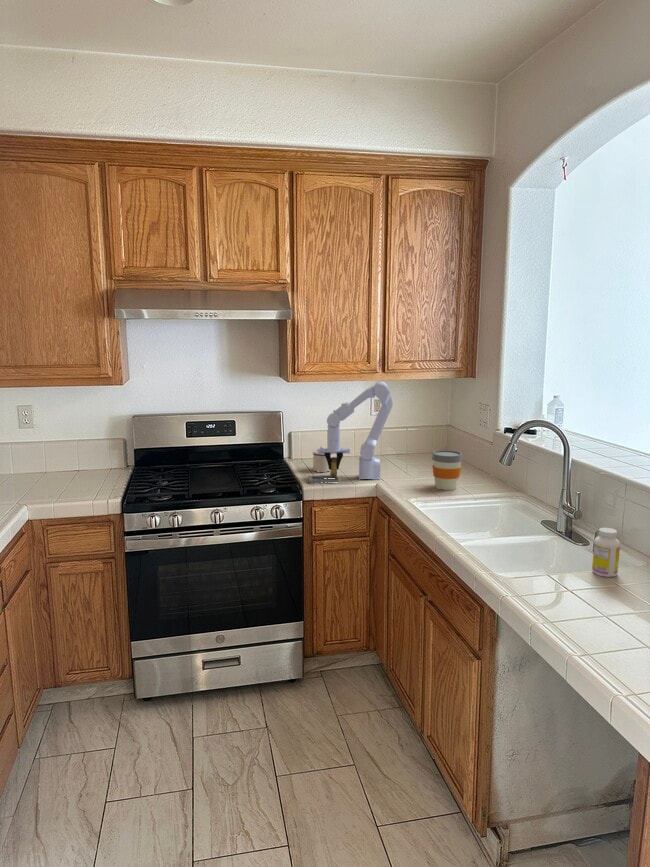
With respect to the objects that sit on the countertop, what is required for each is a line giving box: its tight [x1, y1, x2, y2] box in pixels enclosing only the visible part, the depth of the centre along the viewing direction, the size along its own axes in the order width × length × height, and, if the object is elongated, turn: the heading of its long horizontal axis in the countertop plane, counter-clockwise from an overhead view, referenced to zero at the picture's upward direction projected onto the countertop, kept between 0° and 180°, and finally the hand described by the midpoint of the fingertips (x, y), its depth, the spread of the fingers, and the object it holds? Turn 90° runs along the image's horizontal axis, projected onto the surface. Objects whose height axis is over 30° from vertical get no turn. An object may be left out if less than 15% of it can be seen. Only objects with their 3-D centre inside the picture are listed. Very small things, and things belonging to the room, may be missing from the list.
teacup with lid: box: [312, 445, 332, 473], centre depth 292 cm, size 12×9×12 cm
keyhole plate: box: [307, 474, 340, 484], centre depth 272 cm, size 13×8×2 cm, turn 97°
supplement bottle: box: [591, 527, 621, 578], centre depth 173 cm, size 7×7×13 cm
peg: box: [329, 457, 338, 476], centre depth 279 cm, size 3×3×8 cm
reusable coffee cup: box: [431, 449, 463, 491], centre depth 262 cm, size 13×12×15 cm
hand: (333, 469), depth 279 cm, fingers closed on peg, 3 cm apart
